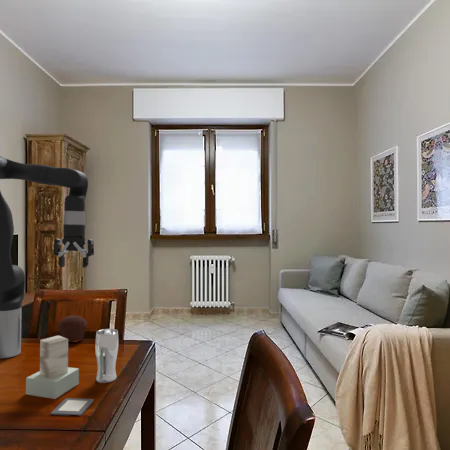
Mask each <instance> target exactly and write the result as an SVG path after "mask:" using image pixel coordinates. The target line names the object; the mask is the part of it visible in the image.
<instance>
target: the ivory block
mask: <svg viewBox="0 0 450 450" xmlns="http://www.w3.org/2000/svg"><path fill="white" fill-rule="evenodd" d="M39 340H40V341H39V342H40V344H39V345H40V346H39V352H40V353H39V371H40V374H41V375H43V376H45V377H47V378H49V379H51V378H53V377H56V376H59V375H62V374H65V373H68V367H69V343H68V339H67V338H64V337H62V336H60V335H58V334H57V335H54V336H50V337H46V338H43V339H39Z"/></svg>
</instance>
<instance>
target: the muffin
mask: <svg viewBox="0 0 450 450" xmlns="http://www.w3.org/2000/svg"><path fill="white" fill-rule="evenodd" d="M87 325H88V322H87V320H86V319H85V318H84V317H82V316H80V315H68V316H65V317H64V318H62V319H61V320H60V321H59V323H58V325H57V326H58V329H59V334H60V335H59V336H62V337H64V338H67V339H68V342H73V341H75V340H81V341H84V338H85V337H84V336H85V333H86V332H85V331H86V327H87Z"/></svg>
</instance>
